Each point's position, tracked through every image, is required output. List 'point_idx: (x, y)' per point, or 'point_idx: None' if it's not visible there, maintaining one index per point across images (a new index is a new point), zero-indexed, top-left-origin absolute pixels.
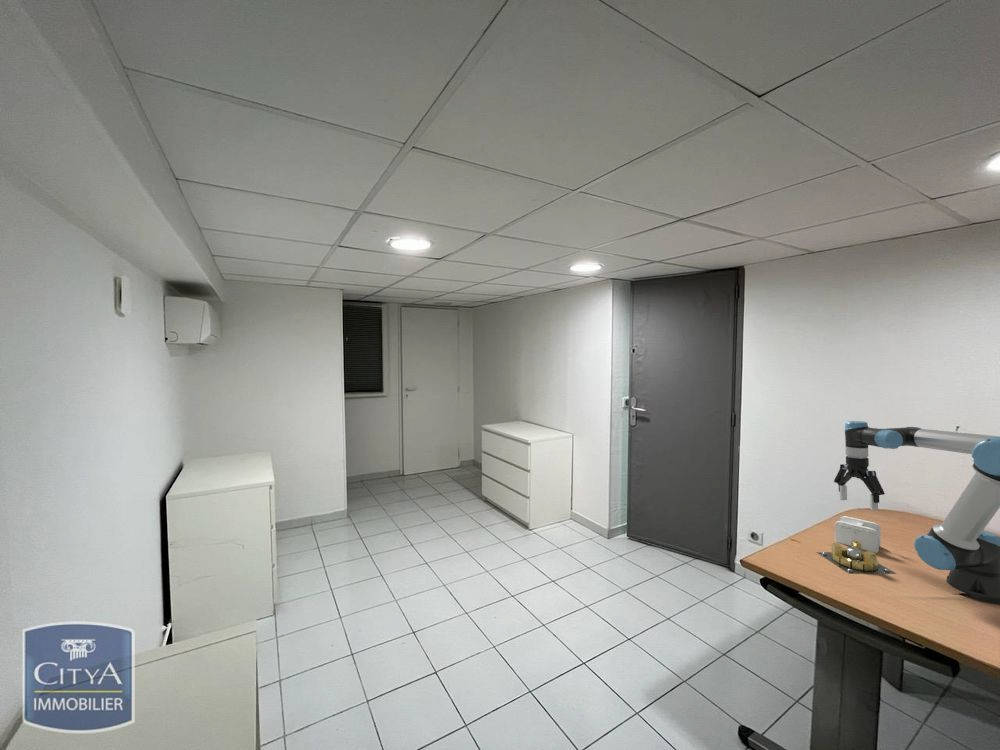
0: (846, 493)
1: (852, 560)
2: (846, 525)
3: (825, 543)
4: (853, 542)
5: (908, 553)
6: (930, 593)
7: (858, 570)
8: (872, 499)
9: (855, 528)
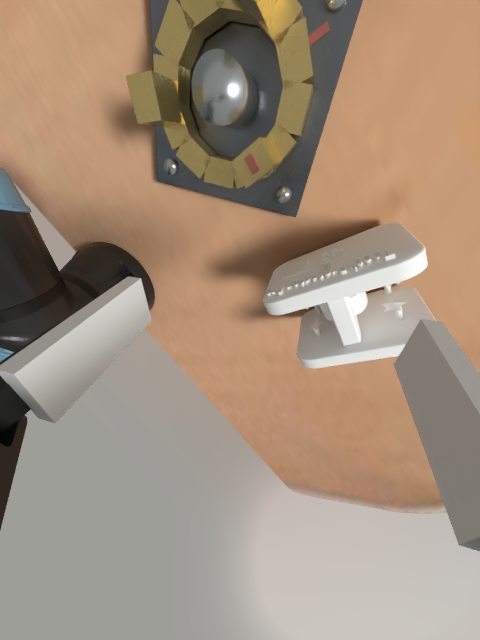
0: (417, 418)
1: (187, 22)
2: (365, 266)
3: (426, 188)
4: (252, 143)
5: (268, 344)
6: (95, 178)
7: None
8: (50, 335)
9: (326, 274)
